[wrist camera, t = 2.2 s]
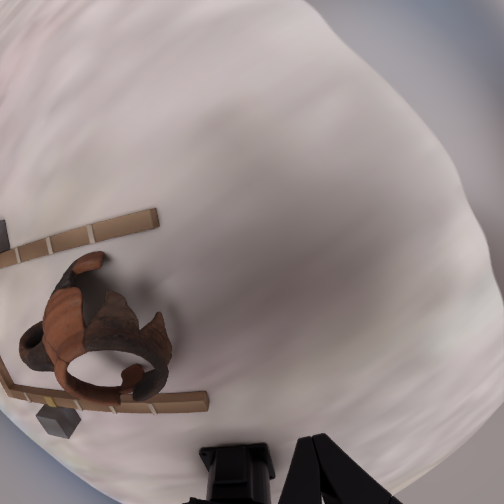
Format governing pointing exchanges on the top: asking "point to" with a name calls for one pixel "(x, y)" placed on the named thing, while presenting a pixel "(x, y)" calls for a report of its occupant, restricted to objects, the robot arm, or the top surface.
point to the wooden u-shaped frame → (61, 402)
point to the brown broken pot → (96, 340)
